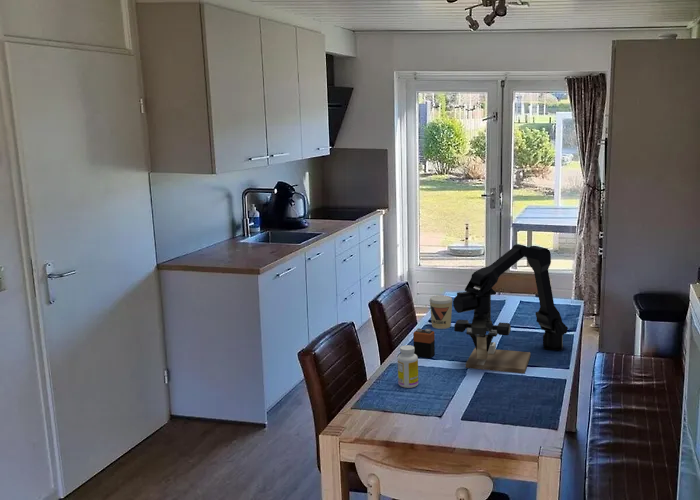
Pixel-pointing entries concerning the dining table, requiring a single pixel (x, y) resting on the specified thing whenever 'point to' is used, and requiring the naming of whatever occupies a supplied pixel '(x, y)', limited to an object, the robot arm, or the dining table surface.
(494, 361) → the board
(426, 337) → the battery
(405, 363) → the supplement bottle
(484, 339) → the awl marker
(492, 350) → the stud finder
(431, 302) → the coffee cup
